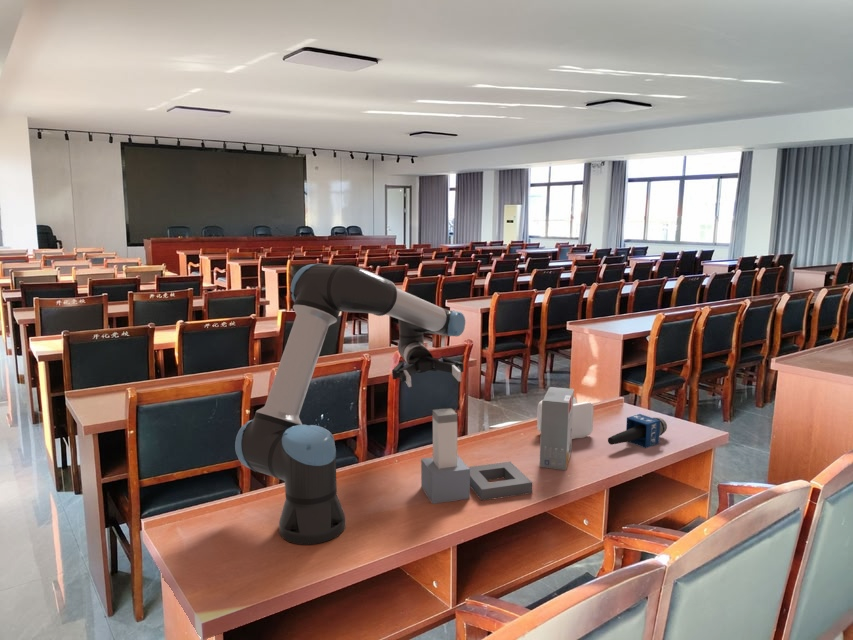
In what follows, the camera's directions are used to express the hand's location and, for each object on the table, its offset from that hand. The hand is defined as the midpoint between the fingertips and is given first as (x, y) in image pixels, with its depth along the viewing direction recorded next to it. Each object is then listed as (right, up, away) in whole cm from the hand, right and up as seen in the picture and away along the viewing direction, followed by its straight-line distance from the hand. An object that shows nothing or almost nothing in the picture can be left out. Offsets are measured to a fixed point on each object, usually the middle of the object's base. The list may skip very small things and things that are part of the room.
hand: (434, 379), depth 162 cm
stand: (+3, -29, -3) cm, 30 cm away
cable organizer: (+43, -22, +38) cm, 61 cm away
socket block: (+17, -29, +1) cm, 33 cm away
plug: (+3, -21, -4) cm, 22 cm away
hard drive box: (+36, -26, +18) cm, 48 cm away
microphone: (+64, -23, +29) cm, 74 cm away
